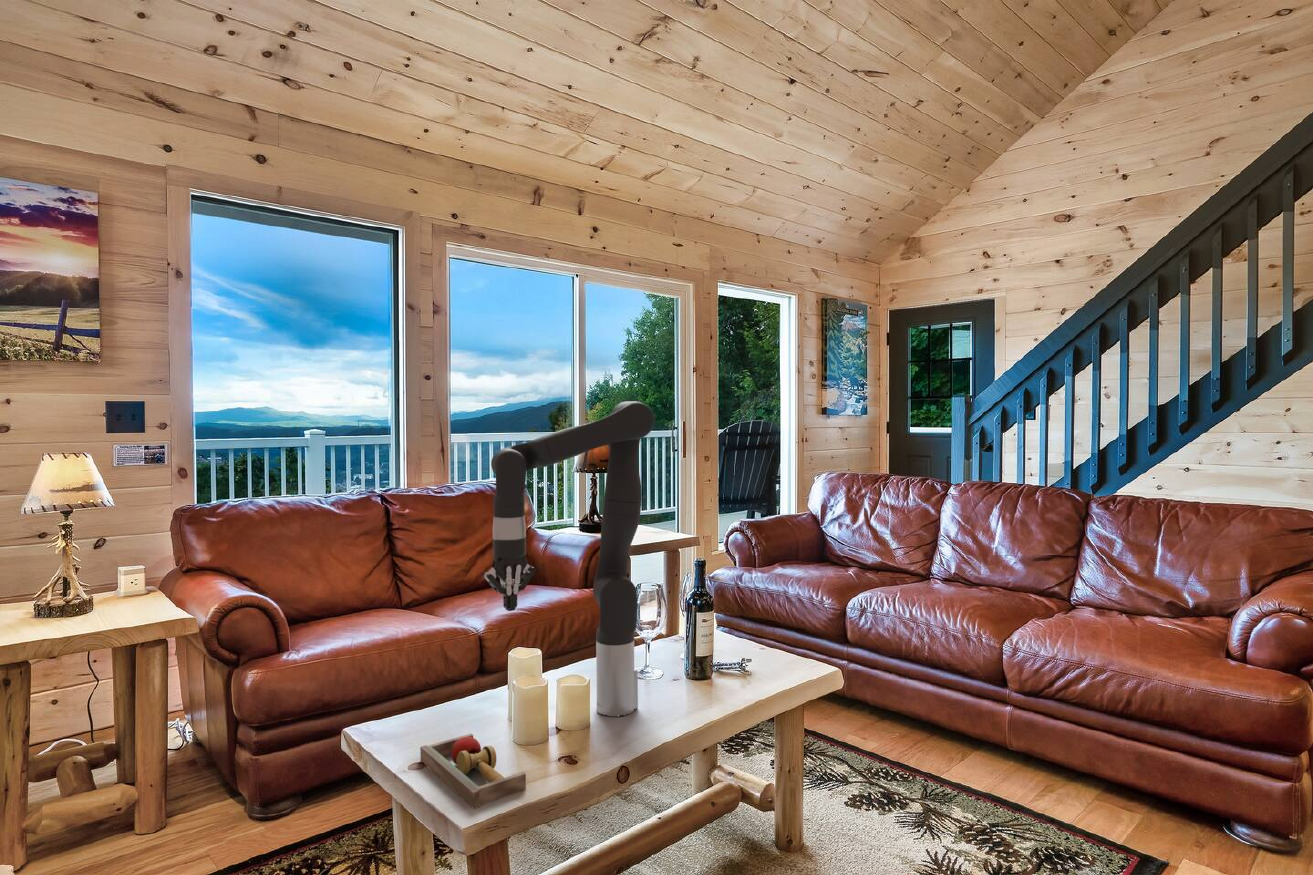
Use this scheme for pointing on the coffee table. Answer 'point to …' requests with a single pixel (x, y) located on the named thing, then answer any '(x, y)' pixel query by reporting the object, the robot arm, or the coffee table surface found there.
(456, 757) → the kendama
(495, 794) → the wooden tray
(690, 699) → the coffee table surface
